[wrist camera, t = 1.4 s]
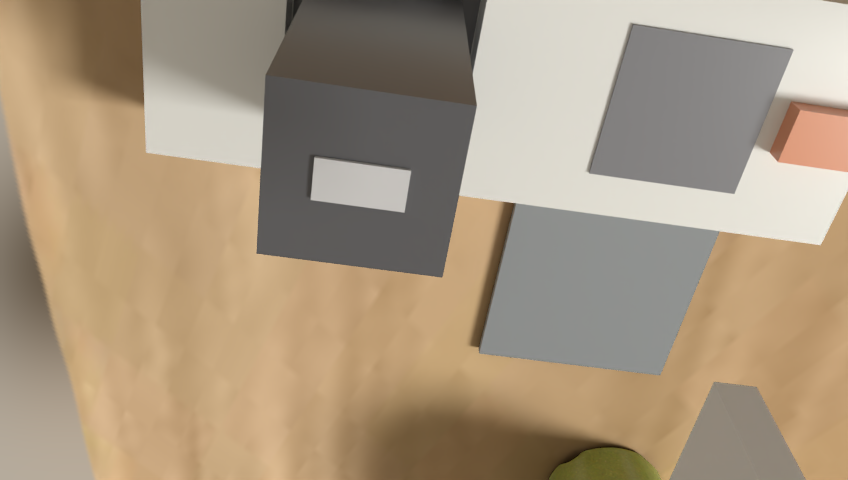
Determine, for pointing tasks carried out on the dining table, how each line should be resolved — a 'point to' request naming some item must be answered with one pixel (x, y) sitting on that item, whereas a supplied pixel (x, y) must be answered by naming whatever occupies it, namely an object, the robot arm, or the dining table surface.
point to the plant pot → (606, 466)
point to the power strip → (573, 103)
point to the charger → (366, 134)
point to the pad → (593, 289)
